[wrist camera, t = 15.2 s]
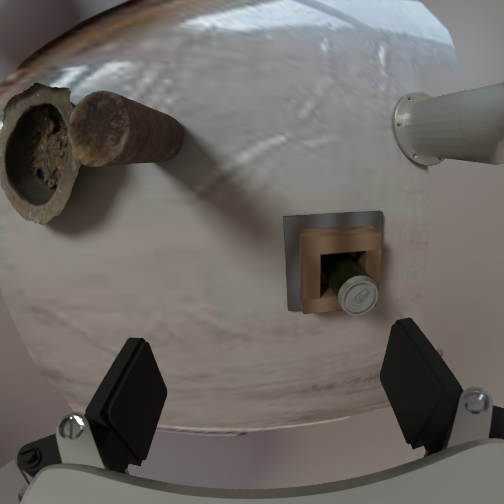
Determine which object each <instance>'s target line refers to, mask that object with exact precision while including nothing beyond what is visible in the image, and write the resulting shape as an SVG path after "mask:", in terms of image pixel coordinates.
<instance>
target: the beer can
mask: <svg viewBox="0 0 504 504" xmlns="http://www.w3.org/2000/svg"><path fill="white" fill-rule="evenodd" d="M321 269H322V272H323V274H324V276H325V278H326V280H327V282H328V284H329V286H330V288H331V290H332V292H333V294H334V296H335V298H336V300H337V302H338V304H339V306H340V307H341V308H342V309H343V310H344V311H345V312H346V313H347V314H350V315H352V316H359V315H363V314H365V313H367V312H369V311H370V310H371V309H372V308H373V307H374V305H375V304H376V302H377V299H378V290H377V287H376V284H375V282H374V281H373V280H372V278H371V277H370V276H369V275H368V274H367V272H366V271H365V270H364V269H363V268H362V267H361V265H360V264H359V263H358V262H357V261H356V260H355V258H354V257H353V256H352V255H351V254H350V253H349V252H345V253H332V254H326V255H325V256H324V258H323V259H322V263H321Z"/></svg>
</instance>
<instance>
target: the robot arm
mask: <svg viewBox="0 0 504 504" xmlns="http://www.w3.org/2000/svg"><path fill="white" fill-rule="evenodd" d="M397 125H398V127H397ZM393 130H394V135H395V138H396V141H397V143H398V145H399V147H400V148H401V150H402V151H403V152H404V154H405V155H406V156H407V157H408V158H409V159H411V160H412V161H414V162H415V163H418V164H420V165H425V166H432V165H437V164H438V163H440V162H442V161H443V160H444V159H445V158H447V159H457V160H465V161H473V162H479V163H486V164H493V165H499V164H503V163H504V82H502V83H499V84H495V85H490V86H485V87H481V88H475V89H471V90H465V91H460V92H455V93H451V94H446V95H442V96H438V97H434V98H432V97H431V96H428V95H427V94H423V93H411V94H408V95H406V96H404V97H403V98H401V99H400V101H399V102H398V103H397V105H396V107H395V109H394V113H393ZM380 381H381V383H382V385H383V388H384V390H385V392H386V395H387V397H388V399H389V401H390V404H391V406H392V408H393V411H394V413H395V415H396V418H397V420H398V423H399V425H400V428H401V430H402V433H403V435H404V438H405V440H406V442H407V443H408V444H411V446H412V449H416V448H418V447H421V446H424V447H425V450H426V453H425V455H424V457H423V458H421V459H418V460H415V461H412V462H409V463H406V464H403V465H400V466H397V467H393V468H390V469H387V470H383V471H380V472H376V473H372V474H368V475H365V476H360V477H356V478H351V479H347V480H341V481H336V482H330V483H323V484H318V485H309V486H300V487H289V488H275V489H223V488H207V487H197V486H188V485H180V484H173V483H167V482H162V481H156V480H151V479H146V478H141V477H136V476H132V475H130V474H129V472H128V470H127V468H128V465H129V464H133V465H137V466H141V463H142V460H146V458H147V455H148V452H149V449H150V446H151V443H152V440H153V436H154V433H155V430H156V427H157V424H158V421H159V418H160V415H161V412H162V409H163V406H164V403H165V400H166V397H167V388H166V386H165V383H164V381H163V378H162V376H161V373H160V371H159V368H158V366H157V363H156V361H155V358H154V355H153V353H152V350H151V347H150V345H149V343H148V342H145V340H144V339H143V338H129V339H128V340H127V341H126V343H125V345H124V346H123V348H122V349H121V351H120V353H119V354H118V356H117V357H116V359H115V361H114V362H113V364H112V366H111V367H110V369H109V371H108V372H107V374H106V376H105V377H104V379H103V381H102V382H101V384H100V386H99V388H98V389H97V391H96V393H95V394H94V396H93V398H92V400H91V402H90V403H89V405H88V407H87V409H86V410H85V411H86V413H85V415H84V416H83V415H81V414H79V413H71V414H67V415H65V416H63V417H62V418H61V419H60V420H59V421H58V423H57V425H56V428H55V430H56V433H55V434H53V435H50V436H48V437H45V438H43V439H40V440H37V441H34V442H31V443H29V444H26V445H24V446H23V447H22V448H21V449H20V451H19V452H18V456H17V461H16V460H14V459H13V460H12V461H11V462H9V463H8V464H6V465H5V466H4V467H2V468H1V469H0V504H504V408H501V407H497V406H493V400H492V397H491V395H490V394H489V393H488V392H487V391H486V390H484V389H482V388H480V387H470V388H468V389H466V390H464V391H463V389H462V388H461V385H460V384H459V382H458V381H457V379H456V378H455V376H454V375H453V373H452V372H451V370H450V369H449V368H448V366H447V365H446V363H445V362H444V361H443V359H442V358H441V356H440V355H439V354H438V352H437V351H436V350H435V348H434V347H433V346H432V344H431V343H430V342H429V340H428V339H427V338H426V336H425V335H424V334H423V333H422V331H421V330H420V329H419V327H418V326H417V325H416V323H415V322H414V321H413V320H412V319H411V318H405V319H400V320H397V321H396V322H395V324H393V325H392V327H391V331H390V336H389V340H388V345H387V349H386V353H385V357H384V361H383V365H382V369H381V372H380Z"/></svg>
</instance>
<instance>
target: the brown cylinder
mask: <svg viewBox="0 0 504 504" xmlns="http://www.w3.org/2000/svg"><path fill="white" fill-rule="evenodd" d="M68 138H69V140H70V143H71V146H72V155H73V156H74V158H75V159H76V160H77V161H78V162H80V163H82V164H83V165H85V166H89V167H103V166H112V165H123V164H132V163H152V162H163V161H166V160H169V159H171V158H172V157H174V156H175V155H176V154H177V152H178V151H179V149H180V147H181V145H182V141H183V130H182V128H181V126H180V124H179V123H178V122H177V120H176V119H174V118H173V117H171V116H169V115H167V114H164V113H162V112H159V111H157V110H155V109H152V108H150V107H147V106H145V105H142V104H140V103H137V102H135V101H133V100H130V99H128V98H125V97H123V96H121V95H118V94H115V93H113V92H109V91H98V92H93V93H91V94H90V95H88V96H86V97H85V98H84V99H83V100H81V101H80V102H79V103H78V104H77V105H76V107H75V108H74V110H73V112H72V114H71V116H70V121H69V125H68Z"/></svg>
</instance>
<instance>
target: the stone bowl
mask: <svg viewBox="0 0 504 504" xmlns="http://www.w3.org/2000/svg"><path fill="white" fill-rule="evenodd" d="M70 94H71V91H69V88H57V87H49V86H45V85H42V84H40V83H34V85H33V86H31V87H30V88H29V89H27V90H25V91H23V93H20V94H18V95H15V96H14V97H12V98H11V99H10V100H9V101H8V103H7V105H6V107H5V108H4V110H3V111H4V118H3V120H2V122H3V127H2V129H1V130H0V179H1V186H2V188H3V189H4V191H5V194H6V196H7V198H8V200H9V201H10V202H11V204H12V206H13V207H14V208H15V209H16V211H17V212H18V213H19V214H20V215H21V216H22V217H23V218H24V219H25V220H28V221H34V223H39V224H41V225H42V224H45V223H47V222H49V221H50V220H51V219H52V218H53V217H54V216H59V215H60V214H61V212H62V210H63V208H64V207H65V205H66V202H67V201H68V199H69V197H70V195H71V192H72V187H73V184H74V182H75V179H76V177H77V175H78V170H79V168H80V166H81V163H80V162H78V161H77V160H76V159H75V158H74V156H73V155H72V146H71V143H70V140H69V138H68V125H69V121H70V116H71V114H72V112H73V110H74V108H75V107H76V106H75V105H74V104H73V103H72V102H70ZM40 128H41V132H38V130H39V129H40Z"/></svg>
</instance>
